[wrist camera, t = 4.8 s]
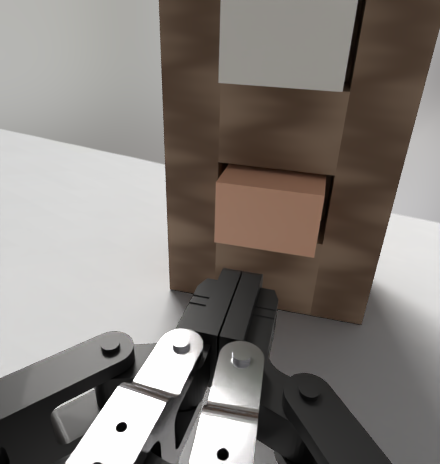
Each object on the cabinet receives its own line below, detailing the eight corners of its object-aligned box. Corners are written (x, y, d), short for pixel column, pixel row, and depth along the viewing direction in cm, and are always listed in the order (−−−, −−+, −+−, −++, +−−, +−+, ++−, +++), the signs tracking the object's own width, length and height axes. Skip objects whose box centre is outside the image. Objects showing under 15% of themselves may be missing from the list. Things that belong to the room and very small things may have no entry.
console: (169, 289, 26) (143, -409, 13) (197, 243, 31) (198, -290, 18) (361, 324, 24) (576, -491, 10) (357, 269, 29) (497, -326, 15)
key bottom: (214, 242, 21) (215, 182, 20) (228, 216, 24) (230, 161, 22) (314, 257, 20) (324, 195, 19) (317, 228, 23) (326, 172, 21)
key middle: (218, 83, 17) (220, -9, 16) (234, 73, 20) (238, -7, 18) (342, 92, 16) (359, -5, 15) (341, 80, 19) (355, -3, 17)
